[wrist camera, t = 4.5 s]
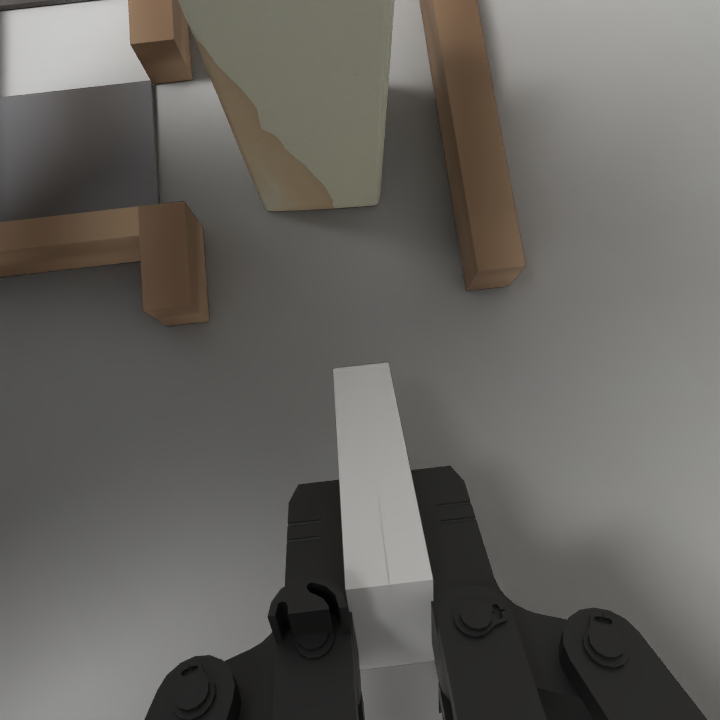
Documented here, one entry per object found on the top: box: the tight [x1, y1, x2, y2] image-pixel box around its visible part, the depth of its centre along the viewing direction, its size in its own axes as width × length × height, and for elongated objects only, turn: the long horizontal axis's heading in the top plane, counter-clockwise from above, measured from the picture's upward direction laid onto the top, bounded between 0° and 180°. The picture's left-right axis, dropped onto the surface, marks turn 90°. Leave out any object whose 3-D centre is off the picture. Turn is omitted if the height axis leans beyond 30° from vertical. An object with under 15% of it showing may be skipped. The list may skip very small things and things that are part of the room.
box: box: [178, 0, 394, 211], centre depth 14 cm, size 5×4×11 cm
